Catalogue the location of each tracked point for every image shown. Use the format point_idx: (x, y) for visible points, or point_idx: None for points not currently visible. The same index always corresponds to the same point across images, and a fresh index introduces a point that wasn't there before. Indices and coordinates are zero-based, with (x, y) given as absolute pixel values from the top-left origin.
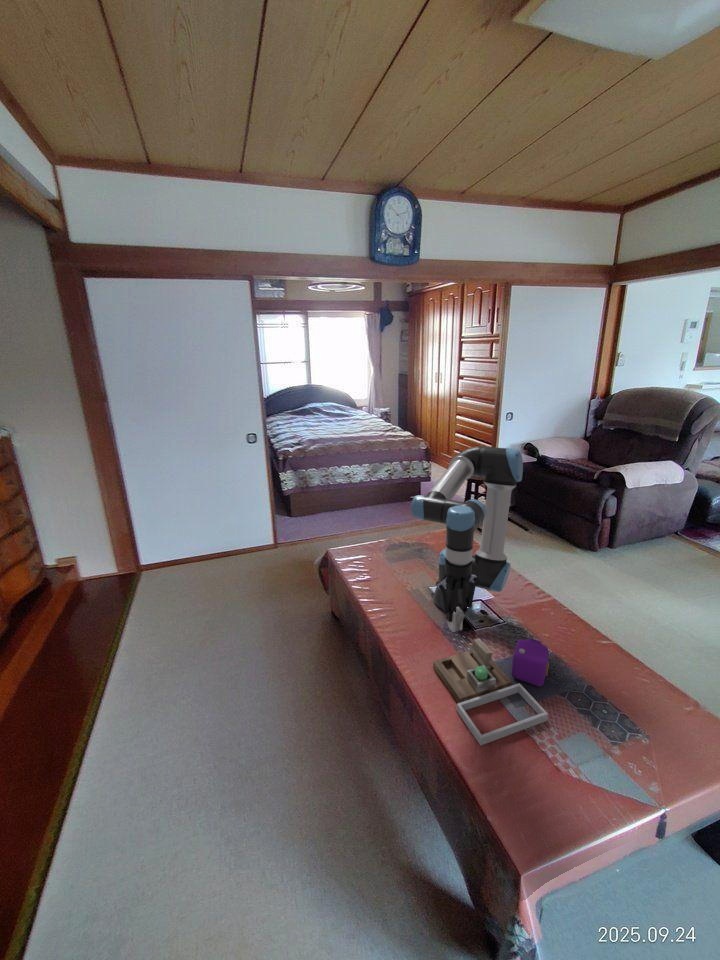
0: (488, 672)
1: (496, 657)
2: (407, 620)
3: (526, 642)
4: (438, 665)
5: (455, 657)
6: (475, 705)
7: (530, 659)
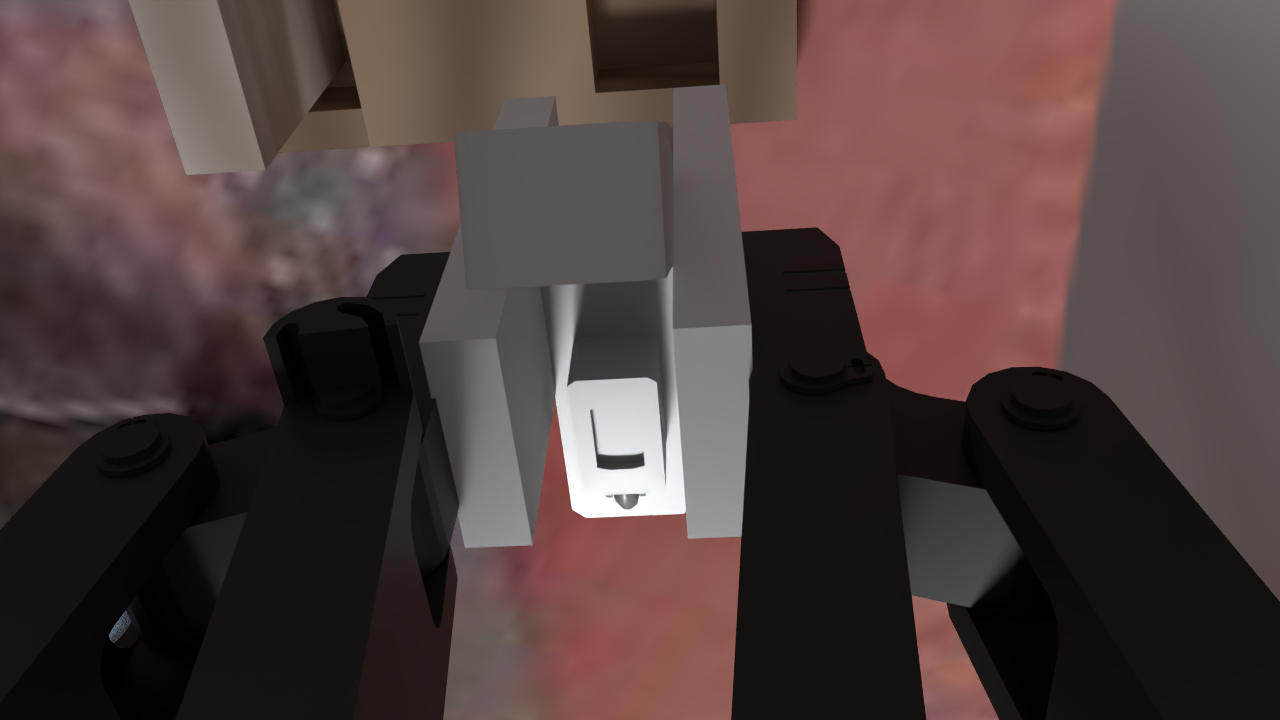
0: None
1: (69, 29)
2: (732, 645)
3: None
4: (774, 44)
5: None
6: None
7: None
